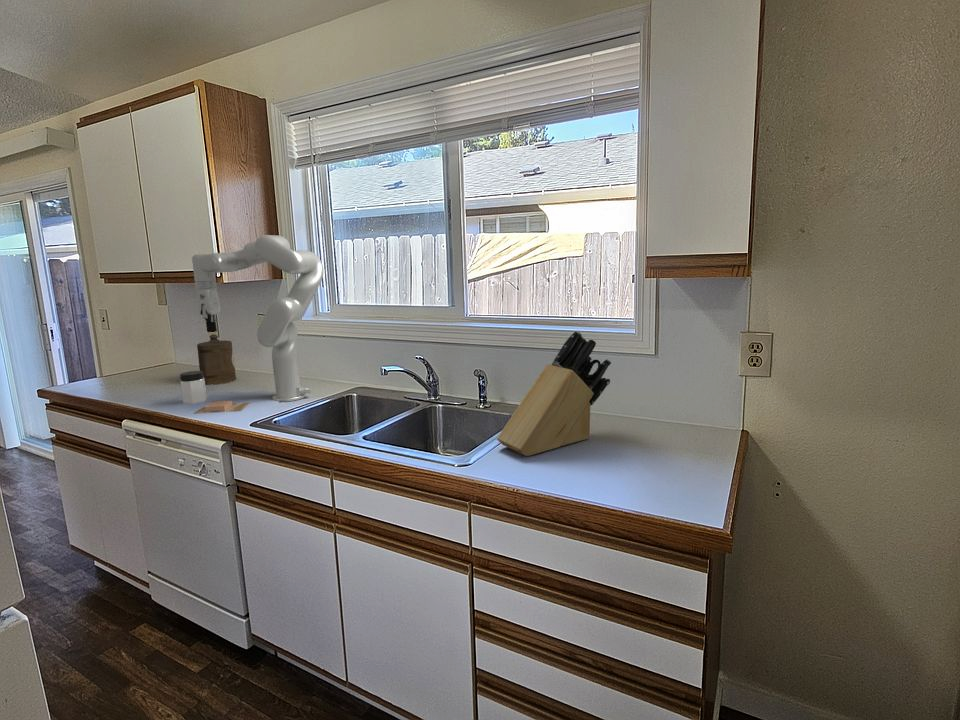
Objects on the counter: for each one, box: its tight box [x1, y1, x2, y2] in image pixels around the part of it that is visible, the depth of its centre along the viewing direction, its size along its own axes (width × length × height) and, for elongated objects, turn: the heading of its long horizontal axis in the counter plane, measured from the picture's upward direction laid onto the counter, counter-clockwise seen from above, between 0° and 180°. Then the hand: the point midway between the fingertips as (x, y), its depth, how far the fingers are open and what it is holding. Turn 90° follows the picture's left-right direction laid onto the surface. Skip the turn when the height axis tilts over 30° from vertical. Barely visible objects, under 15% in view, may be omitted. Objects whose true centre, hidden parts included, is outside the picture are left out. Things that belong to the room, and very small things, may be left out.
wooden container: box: [196, 333, 237, 385], centre depth 256 cm, size 15×15×22 cm
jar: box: [179, 370, 208, 405], centre depth 219 cm, size 9×8×12 cm
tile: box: [204, 400, 233, 413], centre depth 206 cm, size 7×2×8 cm
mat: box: [193, 402, 252, 414], centre depth 208 cm, size 17×12×1 cm
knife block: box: [496, 330, 612, 457], centre depth 157 cm, size 11×35×31 cm, turn 124°
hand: (212, 331), depth 222 cm, fingers closed
